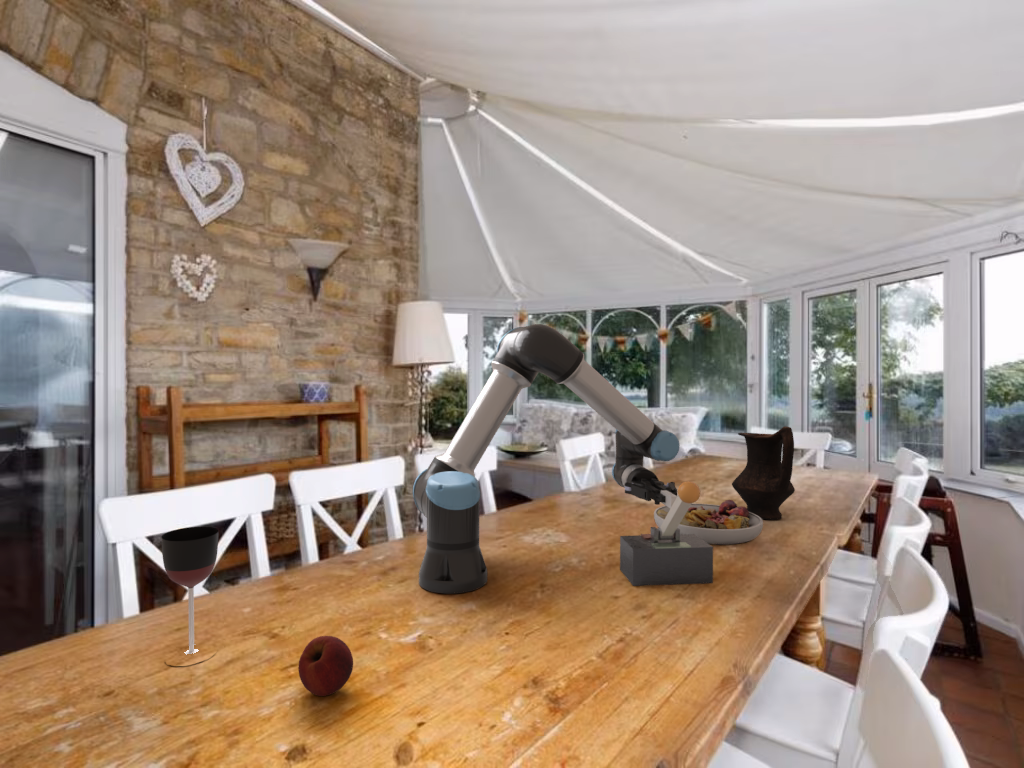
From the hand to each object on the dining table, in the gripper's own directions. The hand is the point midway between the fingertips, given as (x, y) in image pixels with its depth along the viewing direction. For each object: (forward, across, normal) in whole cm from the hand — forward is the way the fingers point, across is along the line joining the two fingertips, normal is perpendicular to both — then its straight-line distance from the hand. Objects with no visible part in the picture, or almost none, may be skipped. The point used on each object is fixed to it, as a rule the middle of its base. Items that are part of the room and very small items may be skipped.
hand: (674, 502), depth 121 cm
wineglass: (+23, +90, -18) cm, 95 cm away
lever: (-6, 0, -9) cm, 11 cm away
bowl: (-40, -25, -19) cm, 51 cm away
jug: (-53, -51, -18) cm, 76 cm away
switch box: (-5, 0, -18) cm, 19 cm away
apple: (+35, +66, -18) cm, 77 cm away
